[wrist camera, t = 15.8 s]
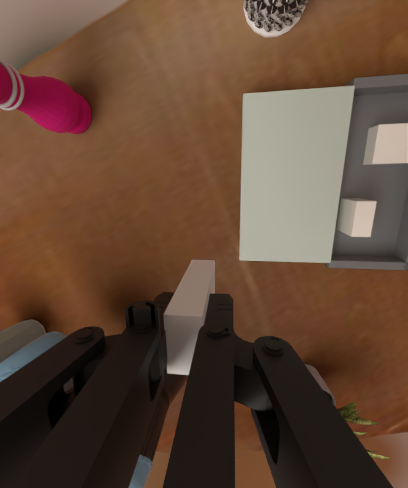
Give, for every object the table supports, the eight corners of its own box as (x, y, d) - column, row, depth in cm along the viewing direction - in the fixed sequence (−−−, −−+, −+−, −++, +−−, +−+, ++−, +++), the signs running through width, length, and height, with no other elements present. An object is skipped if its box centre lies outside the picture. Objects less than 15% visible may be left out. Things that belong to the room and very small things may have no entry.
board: (321, 254, 40) (330, 262, 36) (239, 252, 42) (239, 260, 38) (341, 96, 33) (354, 85, 29) (242, 102, 35) (243, 93, 31)
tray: (397, 262, 38) (412, 270, 35) (320, 260, 40) (328, 267, 37) (437, 81, 31) (462, 69, 28) (342, 88, 33) (354, 77, 29)
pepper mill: (81, 81, 37) (-81, -19, 18) (102, 126, 39) (-28, 77, 20) (47, 101, 39) (-133, 29, 20) (68, 144, 41) (-81, 114, 22)
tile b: (372, 164, 32) (363, 164, 35) (412, 162, 32) (399, 163, 34) (378, 124, 31) (368, 128, 33) (420, 122, 30) (407, 126, 33)
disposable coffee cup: (31, 354, 56) (-39, 414, 42) (4, 318, 54) (-80, 368, 40) (63, 340, 53) (-1, 400, 39) (35, 302, 51) (-42, 350, 37)
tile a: (336, 229, 38) (353, 229, 37) (351, 236, 33) (370, 237, 33) (341, 198, 36) (358, 198, 36) (356, 201, 32) (376, 201, 31)
